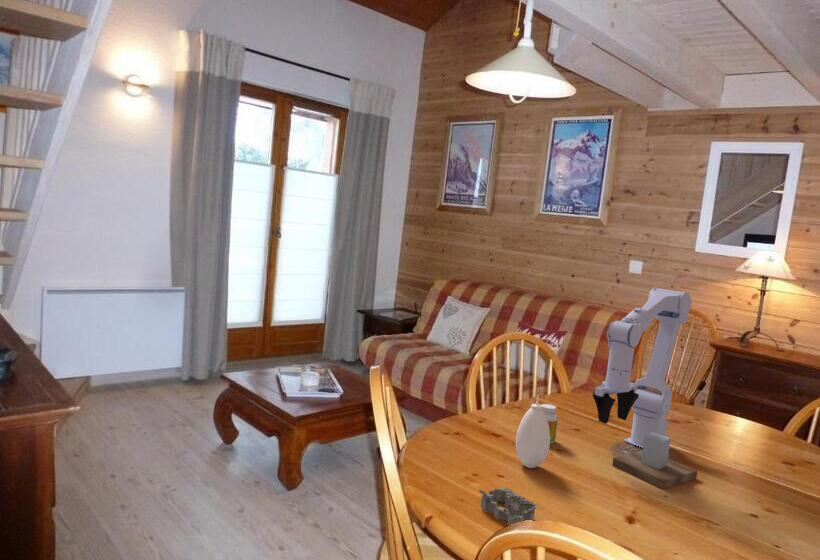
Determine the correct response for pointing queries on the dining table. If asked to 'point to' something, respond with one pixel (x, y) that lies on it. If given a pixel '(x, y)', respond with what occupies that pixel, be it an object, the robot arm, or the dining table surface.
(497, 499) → the grey hollow block
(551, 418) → the supplement bottle
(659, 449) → the blue-grey block
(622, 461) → the walnut board
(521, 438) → the sauce bottle
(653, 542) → the dining table surface
